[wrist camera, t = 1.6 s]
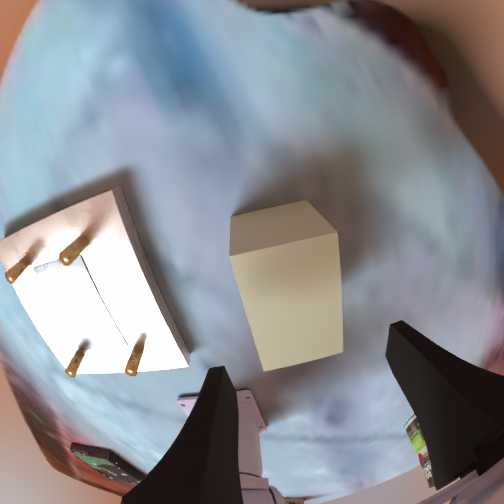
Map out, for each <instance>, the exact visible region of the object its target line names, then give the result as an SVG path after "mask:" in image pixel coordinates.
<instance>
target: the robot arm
mask: <svg viewBox="0 0 504 504" xmlns="http://www.w3.org/2000/svg"><path fill="white" fill-rule="evenodd" d="M386 358H387V360H388V363H389V366H390V368H391V370H392V373H393V375H394V377H395V378H396V380H397V382H398V384H399V386H400V387H401V389H402V391H403V393H404V394H405V396H406V398H407V400H408V402H409V404H410V405H411V407H412V409H413V411H414V413H415V415H416V418H417V420H418V423H419V426H420V428H421V431H422V434H423V437H424V440H425V444H426V447H427V451H428V454H429V458H430V463H431V468H432V473H433V479H434V485H435V487H436V490H439V489H441V488H442V487H444V486H446V485H448V484H449V483H451V482H453V481H454V480H456V479H457V478H459V477H460V478H461V479H460V480H459V481H457V482H456V483H454V484H452V485H451V486H449V487H447V488H446V489H444V490H442V491H440V492H439V493H437V494H435V495H433V496H431V497H429V498H427V499H425V500H424V501H422V502H420V503H418V504H443V503H445V502H446V501H448V500H450V499H451V501H450V504H504V376H503V375H499V374H496V373H493V372H490V371H487V370H485V369H482V368H479V367H477V366H475V365H473V364H471V363H468V362H466V361H464V360H462V359H460V358H459V357H457V356H455V355H453V354H452V353H450V352H448V351H447V350H445V349H443V348H442V347H440V346H439V345H437V344H436V343H434V342H433V341H431V340H430V339H428V338H427V337H425V336H424V335H422V334H421V333H419V332H418V331H417V330H415V329H414V328H412V327H411V326H410V325H408V324H407V323H405V322H404V321H402V320H401V321H398V322H395V323H393V324H390V329H389V336H388V343H387V349H386ZM177 403H178V405H179V406H180V407H181V409H182V410H183V411H184V413H185V414H186V415H187V416H188V418H187V420H186V422H185V424H184V426H183V428H182V430H181V431H180V433H179V435H178V436H177V438H176V439H175V441H174V442H173V444H172V445H171V447H170V448H169V450H168V451H167V452H166V454H165V455H164V456H163V458H162V459H161V460H160V461H159V462H158V464H157V465H156V466H155V467H154V468H153V469H152V470H151V471H150V472H149V473H148V475H147V476H146V477H145V478H144V479H143V480H142V481H141V482H140V483H138V484H137V485H136V486H135V487H134V488H133V489H132V490H130V491H129V492H128V493H127V494H126V495H124V496H123V497H122V501H121V504H285V500H284V498H283V496H282V494H281V493H280V492H279V491H278V490H277V488H275V487H274V486H269V483H268V478H262V459H261V449H260V439H259V433H261V432H265V431H267V428H266V425H265V423H264V421H263V418H262V416H261V414H260V411H259V409H258V406H257V404H256V402H255V399H254V397H253V394H252V392H251V391H250V390H241V391H235V388H234V386H233V384H232V382H231V380H230V378H229V376H228V373H227V371H226V369H225V367H224V366H220V367H213V368H210V369H209V370H208V372H207V375H206V378H205V381H204V383H203V386H202V388H201V391H200V393H199V395H198V396H193V397H182V398H178V399H177Z"/></svg>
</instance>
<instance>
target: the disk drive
mask: <svg viewBox="0 0 504 504" xmlns="http://www.w3.org/2000/svg"><path fill="white" fill-rule="evenodd" d="M70 450H71V452H72V454H74V455H75V456H76V457H77V458H79V459H80V460H82V461H83V462H85V463H86V464H87V465H89V466H90V467H92V468H93V469H95V470H96V471H98V472H100V473H101V474H103V475H104V476H106V477H108V478H109V479H112V480H118V481H123V482H128V483H131V482H135V483H137V484H138V483H140V482H141V481H142V480H143V479H144V478H145V477H146V476H145V475H144V474H142V473H141V472H139V471H138V470H136V469H135V468H133V467H132V466H130V465H129V464H127V463H126V462H125V461H123V460H122V459H120V458H119V457H118V456H117V455H115V454H114V453H112V452H111V451H110V450H106V449H99V448H94V447H88V446H83V445H78V444H74V443H72V444H71V447H70Z"/></svg>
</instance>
